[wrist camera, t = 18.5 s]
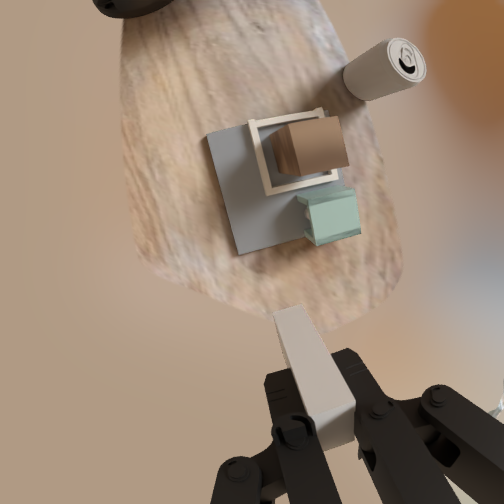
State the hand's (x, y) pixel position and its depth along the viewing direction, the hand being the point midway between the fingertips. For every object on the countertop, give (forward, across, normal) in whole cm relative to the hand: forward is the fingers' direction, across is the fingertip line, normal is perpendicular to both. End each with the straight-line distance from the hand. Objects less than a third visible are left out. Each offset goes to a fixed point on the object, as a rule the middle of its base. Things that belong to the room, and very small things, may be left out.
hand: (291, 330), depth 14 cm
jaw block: (+23, +8, +8) cm, 26 cm away
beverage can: (+25, +21, +17) cm, 37 cm away
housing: (+23, +10, 0) cm, 25 cm away
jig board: (+25, +6, +5) cm, 26 cm away
